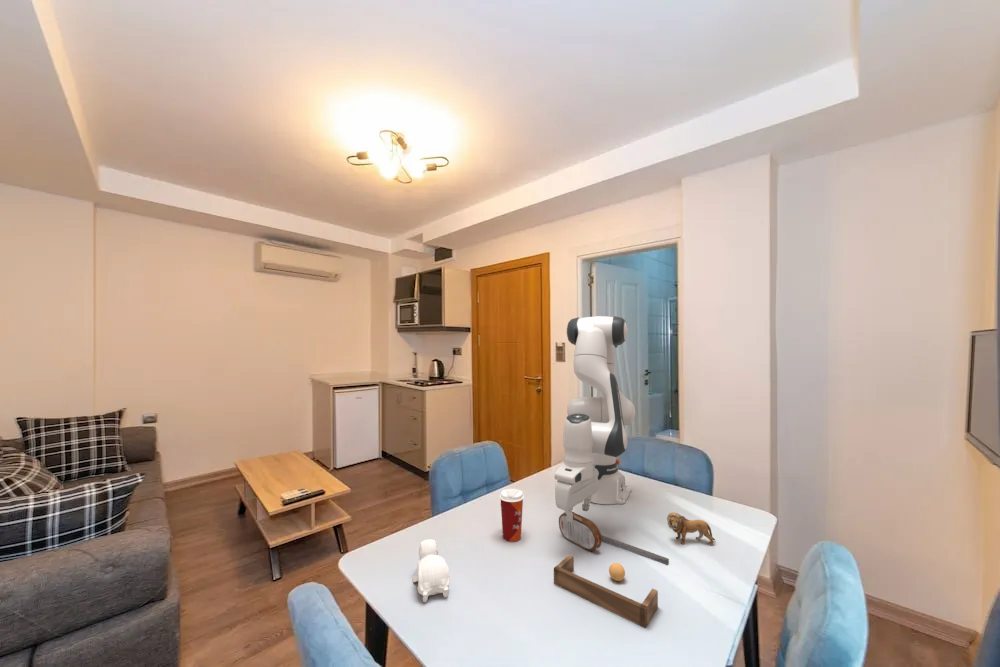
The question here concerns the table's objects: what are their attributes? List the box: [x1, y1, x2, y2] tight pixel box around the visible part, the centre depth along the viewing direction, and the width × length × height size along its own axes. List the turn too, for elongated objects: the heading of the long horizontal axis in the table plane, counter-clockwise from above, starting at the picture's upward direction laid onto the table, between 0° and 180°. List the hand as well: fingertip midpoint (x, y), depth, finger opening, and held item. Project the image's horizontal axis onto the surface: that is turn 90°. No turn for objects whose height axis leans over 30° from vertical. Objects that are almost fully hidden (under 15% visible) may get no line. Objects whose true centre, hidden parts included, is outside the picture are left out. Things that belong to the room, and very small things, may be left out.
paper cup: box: [499, 488, 525, 543], centre depth 121 cm, size 8×8×14 cm
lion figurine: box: [666, 512, 716, 546], centre depth 118 cm, size 15×5×9 cm, turn 93°
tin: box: [558, 511, 603, 552], centre depth 117 cm, size 15×3×8 cm, turn 38°
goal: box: [553, 554, 659, 629], centre depth 94 cm, size 8×23×4 cm, turn 50°
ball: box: [608, 562, 626, 582], centre depth 100 cm, size 4×4×4 cm
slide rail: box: [601, 534, 670, 566], centre depth 117 cm, size 1×32×1 cm, turn 50°
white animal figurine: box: [412, 538, 451, 603], centre depth 99 cm, size 9×8×15 cm
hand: (578, 515), depth 116 cm, fingers open, 8 cm apart
